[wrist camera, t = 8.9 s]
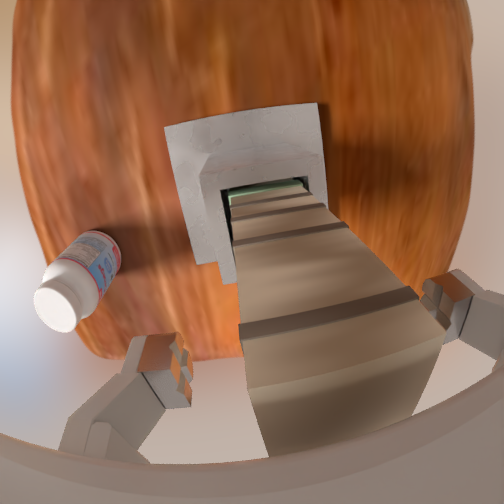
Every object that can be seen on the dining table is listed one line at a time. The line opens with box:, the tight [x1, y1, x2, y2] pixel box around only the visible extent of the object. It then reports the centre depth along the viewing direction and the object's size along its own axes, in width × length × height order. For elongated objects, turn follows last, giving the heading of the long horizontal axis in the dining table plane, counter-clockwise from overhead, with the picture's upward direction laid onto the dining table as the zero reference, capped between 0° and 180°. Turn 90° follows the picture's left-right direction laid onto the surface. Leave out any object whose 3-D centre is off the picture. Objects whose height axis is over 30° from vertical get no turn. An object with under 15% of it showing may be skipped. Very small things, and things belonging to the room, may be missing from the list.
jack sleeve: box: [164, 103, 328, 285], centre depth 22 cm, size 14×14×12 cm
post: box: [228, 178, 446, 457], centre depth 13 cm, size 4×4×17 cm
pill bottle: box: [34, 231, 121, 332], centre depth 24 cm, size 6×6×11 cm
